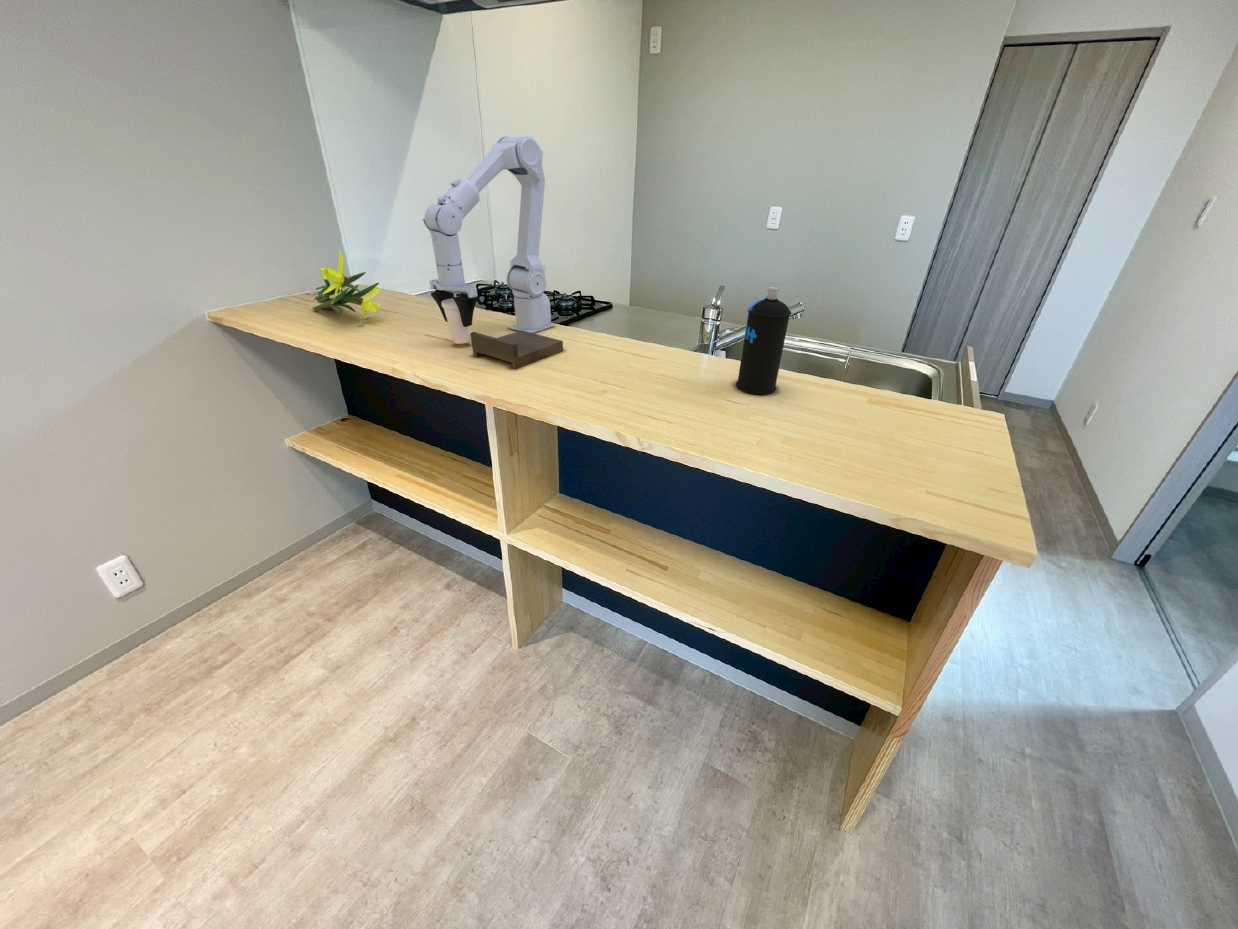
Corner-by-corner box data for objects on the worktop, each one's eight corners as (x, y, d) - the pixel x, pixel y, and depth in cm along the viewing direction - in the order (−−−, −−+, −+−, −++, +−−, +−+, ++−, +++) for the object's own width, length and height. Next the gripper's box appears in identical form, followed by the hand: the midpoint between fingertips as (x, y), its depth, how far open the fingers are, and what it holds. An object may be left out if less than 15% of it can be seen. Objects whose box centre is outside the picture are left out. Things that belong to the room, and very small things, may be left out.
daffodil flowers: (362, 305, 156) (407, 292, 132) (330, 338, 151) (372, 331, 127) (314, 260, 146) (354, 237, 121) (278, 294, 141) (313, 277, 116)
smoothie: (478, 337, 124) (470, 279, 117) (469, 345, 118) (460, 285, 111) (453, 336, 124) (444, 278, 117) (443, 344, 119) (433, 284, 112)
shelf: (522, 339, 126) (520, 318, 124) (563, 350, 120) (562, 328, 117) (473, 356, 115) (470, 332, 112) (515, 369, 109) (513, 345, 106)
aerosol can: (777, 383, 105) (797, 285, 94) (774, 397, 98) (795, 294, 87) (738, 377, 107) (753, 281, 96) (733, 391, 100) (748, 290, 90)
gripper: (414, 262, 113) (425, 321, 120) (455, 270, 106) (465, 332, 113) (440, 258, 118) (449, 315, 125) (481, 265, 111) (488, 325, 118)
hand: (458, 323), depth 119 cm, fingers closed on smoothie, 6 cm apart
